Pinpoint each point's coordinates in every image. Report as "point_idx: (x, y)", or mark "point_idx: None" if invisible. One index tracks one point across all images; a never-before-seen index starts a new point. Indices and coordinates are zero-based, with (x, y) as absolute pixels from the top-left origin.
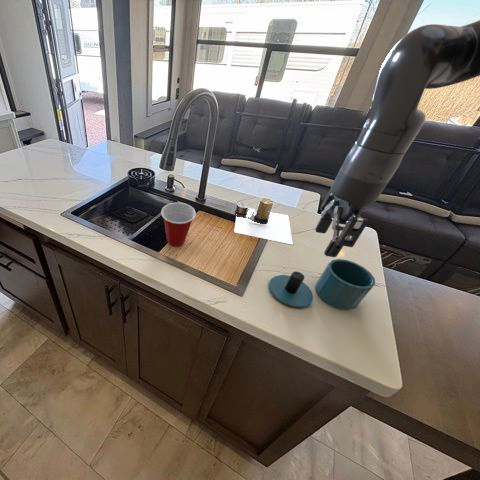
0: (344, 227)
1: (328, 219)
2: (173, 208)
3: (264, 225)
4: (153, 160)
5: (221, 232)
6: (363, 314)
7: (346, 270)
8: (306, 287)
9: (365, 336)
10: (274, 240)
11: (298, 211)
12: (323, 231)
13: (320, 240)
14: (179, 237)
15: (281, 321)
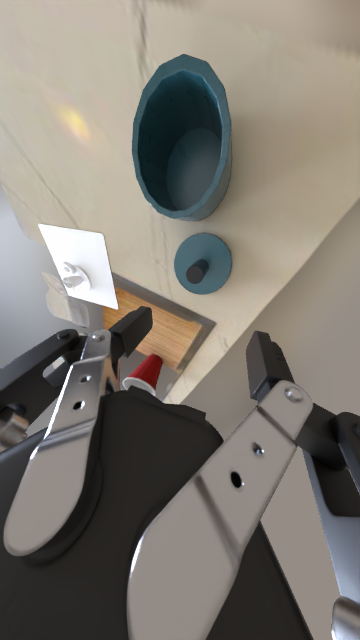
0: (336, 571)
1: (123, 343)
2: (131, 384)
3: (85, 269)
4: None
5: None
6: (241, 115)
7: (151, 149)
8: (193, 240)
9: (298, 133)
10: (108, 262)
11: (13, 199)
12: (148, 314)
13: (63, 169)
14: (158, 369)
15: (252, 289)
